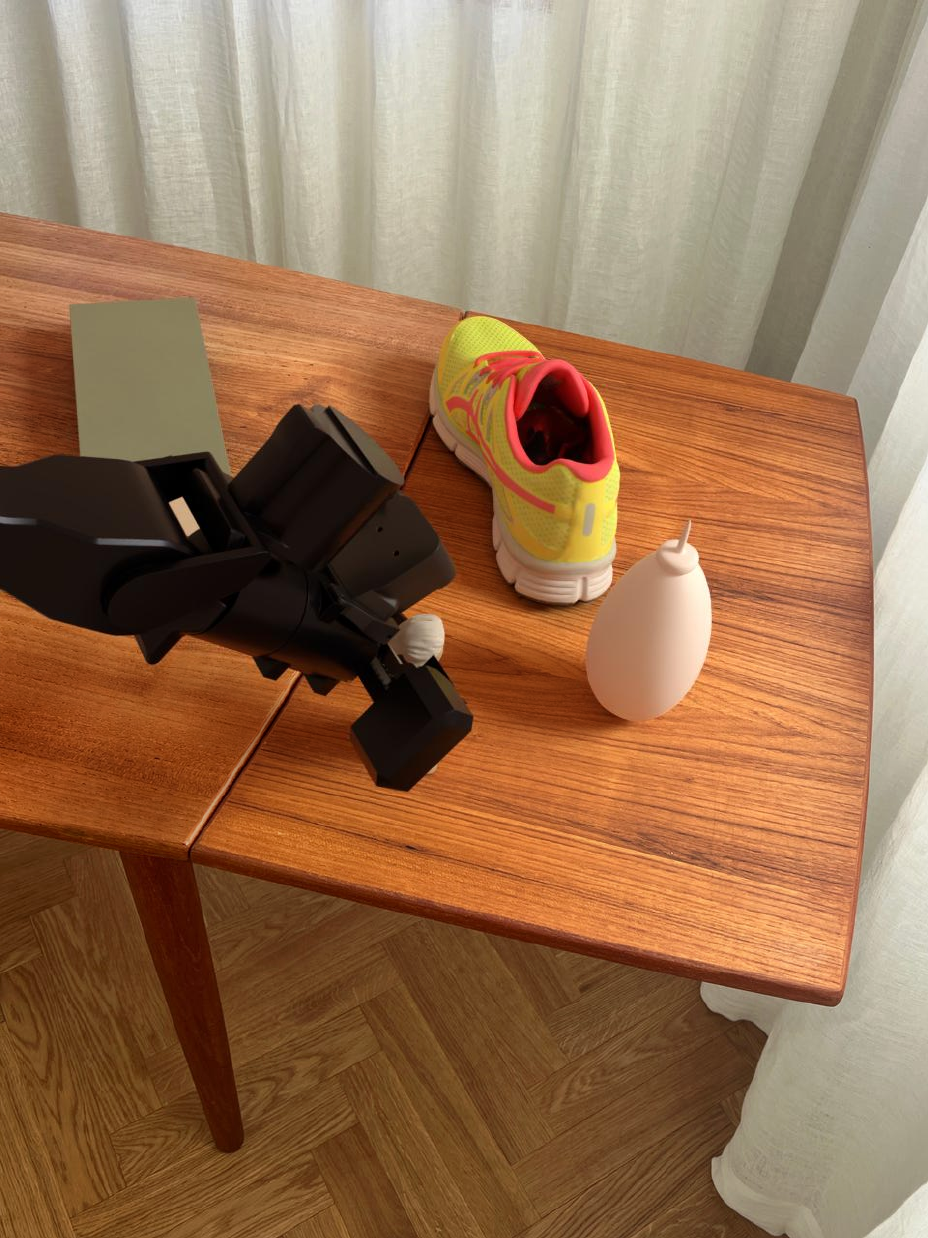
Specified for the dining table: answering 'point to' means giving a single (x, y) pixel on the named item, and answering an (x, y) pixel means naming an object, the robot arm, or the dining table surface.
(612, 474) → the running shoe
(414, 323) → the dining table surface
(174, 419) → the olive green stone
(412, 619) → the grandmother figurine
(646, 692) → the white bulb air blower
